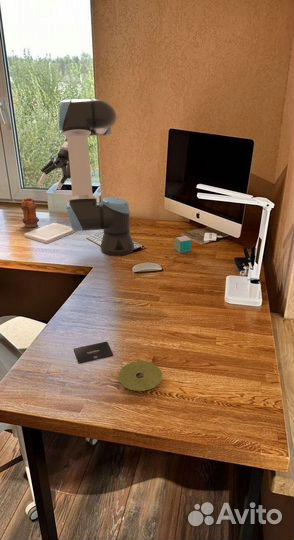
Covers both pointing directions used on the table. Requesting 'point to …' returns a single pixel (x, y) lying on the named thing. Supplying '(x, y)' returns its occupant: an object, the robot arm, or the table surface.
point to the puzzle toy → (183, 244)
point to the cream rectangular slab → (49, 232)
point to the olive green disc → (140, 376)
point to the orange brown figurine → (29, 212)
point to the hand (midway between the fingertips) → (48, 186)
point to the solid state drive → (93, 352)
